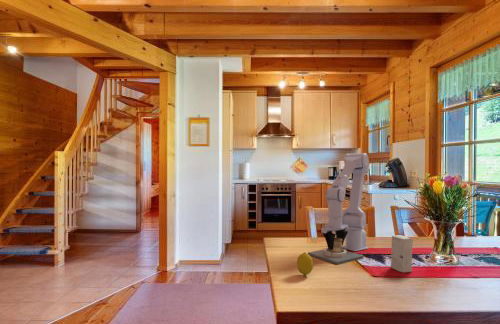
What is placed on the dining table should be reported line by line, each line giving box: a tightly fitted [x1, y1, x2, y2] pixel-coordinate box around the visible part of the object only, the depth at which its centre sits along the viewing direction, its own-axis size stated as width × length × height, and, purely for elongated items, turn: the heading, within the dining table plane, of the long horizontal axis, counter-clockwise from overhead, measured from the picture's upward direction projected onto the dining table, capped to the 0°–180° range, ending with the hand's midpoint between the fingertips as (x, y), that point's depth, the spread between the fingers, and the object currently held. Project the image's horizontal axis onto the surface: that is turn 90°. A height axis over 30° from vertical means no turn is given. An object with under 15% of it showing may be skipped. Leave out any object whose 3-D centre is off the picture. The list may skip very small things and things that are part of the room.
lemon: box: [296, 252, 314, 277], centre depth 109 cm, size 6×6×8 cm
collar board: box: [307, 247, 365, 265], centre depth 132 cm, size 16×16×2 cm
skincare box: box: [390, 234, 413, 273], centre depth 116 cm, size 6×4×12 cm
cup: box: [330, 236, 343, 253], centre depth 132 cm, size 5×5×6 cm
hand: (335, 248), depth 132 cm, fingers closed on cup, 5 cm apart
